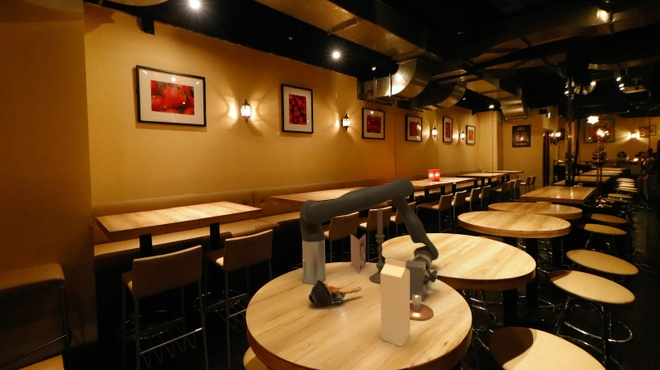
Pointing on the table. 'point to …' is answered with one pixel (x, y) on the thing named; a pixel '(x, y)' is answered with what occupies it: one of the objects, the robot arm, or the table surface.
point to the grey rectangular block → (417, 277)
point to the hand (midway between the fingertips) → (414, 281)
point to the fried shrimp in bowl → (328, 294)
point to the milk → (395, 302)
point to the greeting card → (358, 253)
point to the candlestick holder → (379, 248)
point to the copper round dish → (419, 309)
